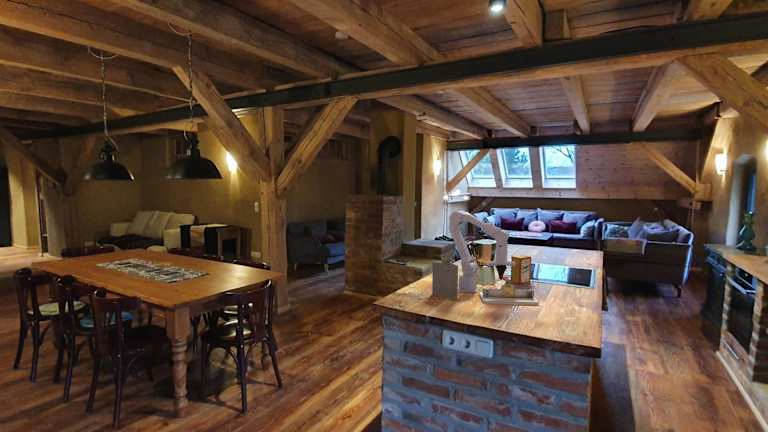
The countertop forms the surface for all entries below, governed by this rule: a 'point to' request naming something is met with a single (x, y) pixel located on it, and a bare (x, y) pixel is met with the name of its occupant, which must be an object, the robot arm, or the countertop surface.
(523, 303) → the mounting board
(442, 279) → the hip flask
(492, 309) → the countertop surface
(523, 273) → the baking soda box
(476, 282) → the robot arm
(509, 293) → the ball valve
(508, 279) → the valve lever
